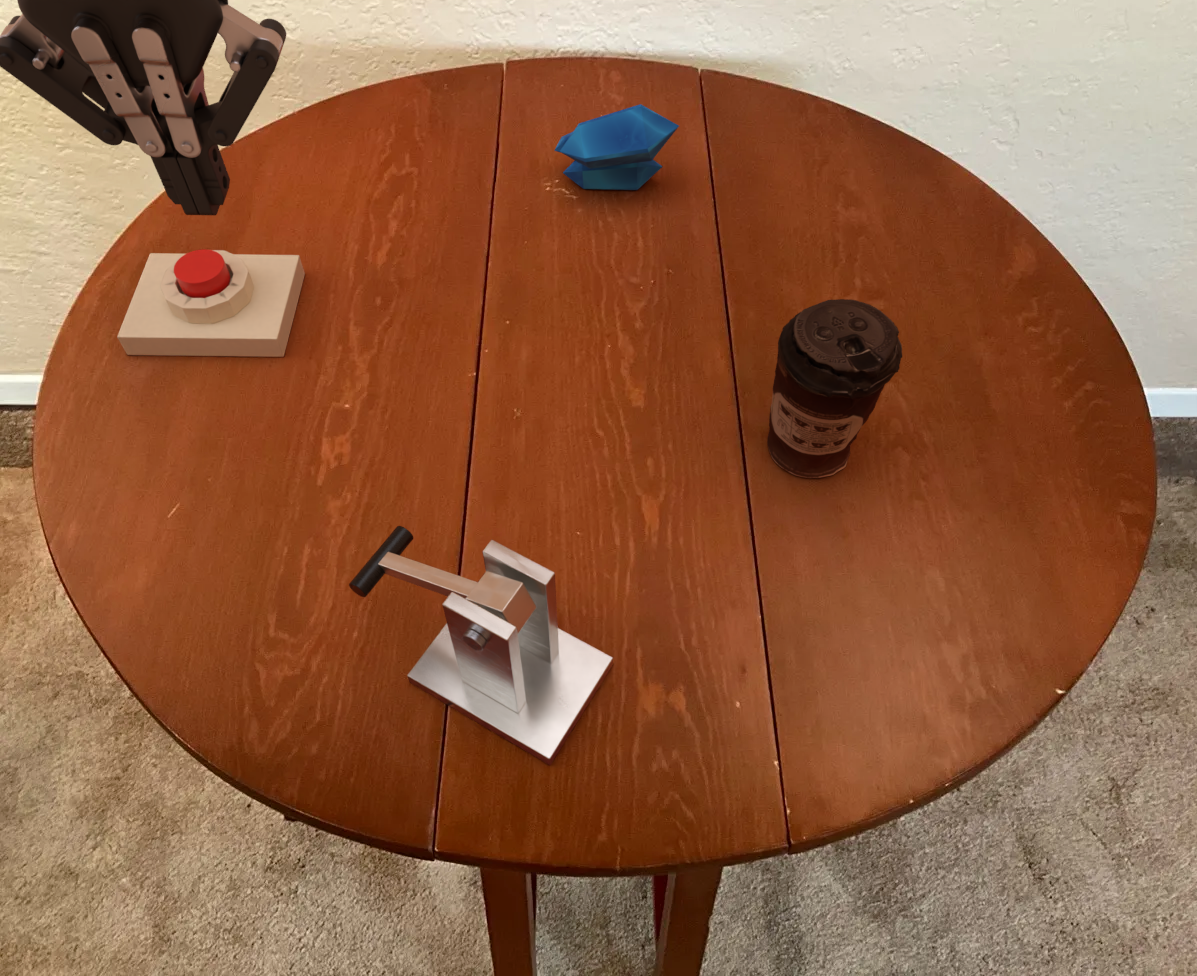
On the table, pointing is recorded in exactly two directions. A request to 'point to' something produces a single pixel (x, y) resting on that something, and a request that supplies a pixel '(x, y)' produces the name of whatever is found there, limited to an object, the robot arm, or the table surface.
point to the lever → (445, 581)
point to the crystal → (616, 149)
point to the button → (202, 273)
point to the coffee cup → (828, 383)
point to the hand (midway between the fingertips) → (205, 204)
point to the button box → (215, 309)
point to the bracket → (513, 663)
